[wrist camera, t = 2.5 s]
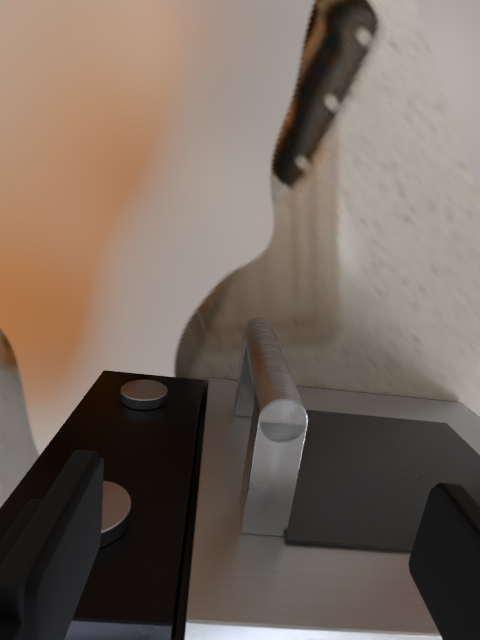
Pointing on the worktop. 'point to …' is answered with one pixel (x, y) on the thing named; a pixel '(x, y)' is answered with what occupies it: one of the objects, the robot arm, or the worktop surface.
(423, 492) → the microwave door
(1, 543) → the robot arm
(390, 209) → the worktop surface
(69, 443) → the microwave
